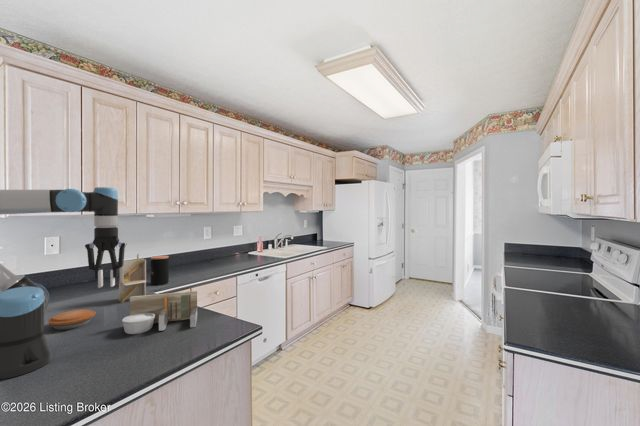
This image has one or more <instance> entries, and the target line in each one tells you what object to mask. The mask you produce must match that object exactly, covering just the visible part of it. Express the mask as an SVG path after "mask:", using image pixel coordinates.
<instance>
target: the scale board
mask: <svg viewBox="0 0 640 426" xmlns="http://www.w3.org/2000/svg"><path fill="white" fill-rule="evenodd" d="M164 296H167V308H168V322H173V321H174V322H175V321H183V320H190V314H191V311H192V308H197V309H198V291H197V290H193V291H181V292H169V293H160V294H159V293H157V294H148V295H147V294H146V295H144V296H132V297H130V299H129V315H133V314H137V313H153V314H154V315H155V318H154V321H153V324H159V315H160V313H161V311H162V309H163V308H164Z"/></svg>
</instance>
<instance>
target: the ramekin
mask: <svg viewBox="0 0 640 426" xmlns="http://www.w3.org/2000/svg"><path fill="white" fill-rule="evenodd" d="M154 318H155V315H154V314H153V313H137V314H133V315H130V314H129V315H127V316H124V317H123V318H122V320H121V322H122V323H121V324H122V325H123V329H124V332H125V333H126V334H127V335H139V334H142V333H146V332H148V331H150V330H151V329H152V328H153V325H154V323H153V321H154Z"/></svg>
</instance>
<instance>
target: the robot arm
mask: <svg viewBox="0 0 640 426" xmlns="http://www.w3.org/2000/svg"><path fill="white" fill-rule="evenodd" d="M118 197H119V195H118V190H117V189H116V188H114V187H106V186H105V187H104V186H103V187H102V186H100V187H99V186H97V187H94V188H93V191H91V192H90V191H89V192H87V191H80V190H79V189H76V188H66V189H0V216H1V215H18V214H19V215H20V214H22V215H23V214H26V215H27V214H47V213H81V212H82V213H84V212H85V213H86V212H87V213H91V212H92V213H93V217H94V219H93V220H94V222H93V225H94V227H95V228H94V229H93V231H94V232H93V238H94V239H93V241H92V242H90V243H87V244H86V243H85V245H84V247H85V249H86V250H87V252H86V253H87V262H88V263H87V264H88V269H89V270H92V271H94V278H95V280H97V289H101V288H102V287H103V286H104V275H103V274H104V269H102V268H101V267H102V263H103V257H104V253H105V251H108V253H109V257H110V263H111V268H112V269H110V270H109V271H110V272H109V273H110V274H109V277H110V279H109V280H110V287H111V288H113V287H114V286H115V285H116V278H118V276H119V275H118V274H119V272H118V271H119V269H120V268H121V267H123V263H124V261H125V251H126V249H125V248H126V246H127V242H123V241H120V239H119V228H118V226H119V214H118V213H119V199H118ZM117 246H118V247H119V249H118V259H117V255H116V247H117ZM95 247H96V248H97V254H96V260H95V251H94V248H95ZM49 303H50V293H49V291H48V290H47V288H46V287H44V286H43V285H42V284H39V283H37V282H33V281H32V280H31V279H30V277H27V275H24V274H20V275H19V274H14V273H13V272H12V271H11V270H9V269H8V268H6V267H5V265H3V264H2V263H0V380H6V379H10V378H15V377H19V376H22V375H25V374H28V373H30V372H33V371H36V370H38V369H40V368H42V367H44V366H45V365H46V366H47V364H49V363H50V362H51V360H52V357H53V355H52V349H51V346H50V345H49V343H48V341H47V339H46V337H45V311H46V309H47V307H48V304H49Z"/></svg>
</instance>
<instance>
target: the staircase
mask: <svg viewBox="0 0 640 426" xmlns="http://www.w3.org/2000/svg"><path fill="white" fill-rule="evenodd" d="M144 295H147V259H146V258H145V259H144V258H139V253H137V255H136V259H130V260H129V259H128V260H124V263H123V267H121V268H119V281H118V302H120V303H125V301H130V297H132V296H144Z"/></svg>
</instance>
